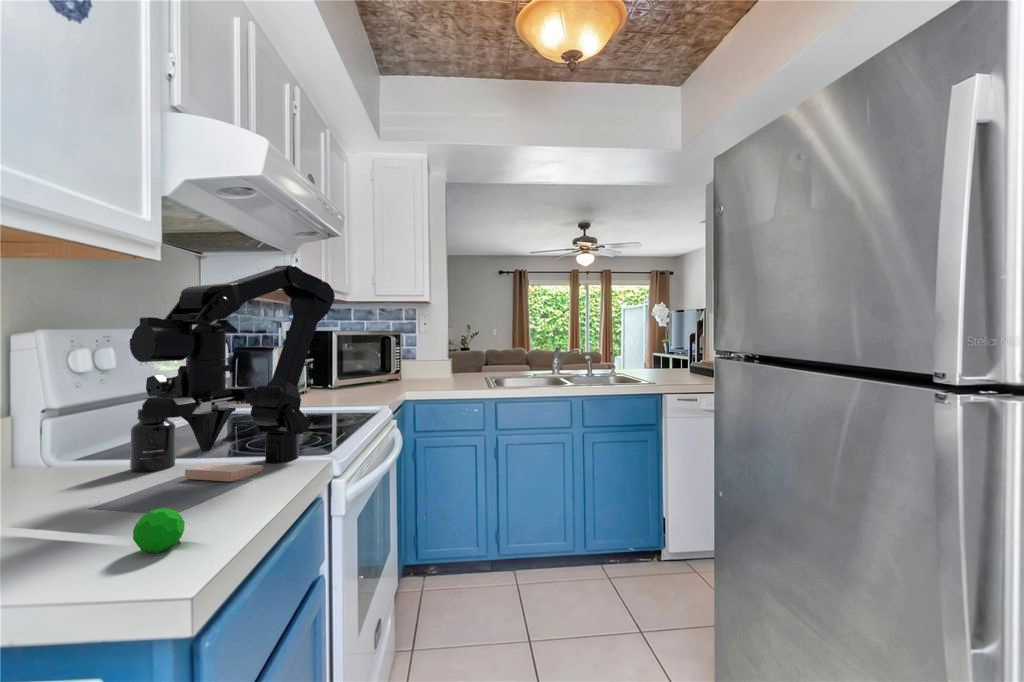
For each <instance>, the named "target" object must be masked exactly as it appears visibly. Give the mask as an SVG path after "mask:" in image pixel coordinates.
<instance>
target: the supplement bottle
mask: <svg viewBox="0 0 1024 682" xmlns="http://www.w3.org/2000/svg"><path fill="white" fill-rule="evenodd" d="M137 420H138V422H137V423H135V424H133V426H132V427H131V429H130V452H129V453H130V454H129V455H130V458H129V460H130V462H129V463H130V464H129V467H130V468H129V471H130V472H131V473H135V474H136V473H137V474H141V473H142V474H144V473H146V474H147V473H154V472H160V471H165V470H168V469H172V468H173V467H175V466H176V439H177V438H176V435H177V433H176V431H177V429H176V424H175V423H174V422H173V421H171V420H169V418H168V417H142V408H139V409H138V410H137Z"/></svg>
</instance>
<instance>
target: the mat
mask: <svg viewBox="0 0 1024 682" xmlns="http://www.w3.org/2000/svg"><path fill="white" fill-rule="evenodd" d="M184 477H185V475H182V476H178V477H176V478H173V479H170V480H167V481H164V482H162V483H159V484H155V485H153V486H150V487H147V488H144V489H142V490H138V491H135V492H133V493H130V494H126V495H124V496H121V497H118V498H115V499H112V500H109V501H107V502H104V503H101V504H98V505H95V506H91V507H89V508H88V510H95V511H97V510H98V511H107V512H110V511H111V512H123V513H124V512H127V513H137V514H138V513H140V514H147V513H149V512H150V511H153V510H156V509H159V508H167V509H172V510H175V511H177V512H178V513H179V514H180V513H181V512H184V511H185V510H189V509H191V508H192V507H195V506H197V505H200V504H202V503H204V502H206V501H209V500H212V499H213V498H216V497H218V496H220V495H222V494H223V495H224V494H226V493H228V492H230V491H232V490H235V489H237V488H239V487H241V486H244V485H246V484H248V483H251V482H253V481H254V480H253V479H240V480H235V481H231V482H230V481H213V480H196V479H184Z"/></svg>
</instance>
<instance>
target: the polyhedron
mask: <svg viewBox="0 0 1024 682" xmlns="http://www.w3.org/2000/svg"><path fill="white" fill-rule="evenodd" d="M132 530H133V531H132V532H133V533H132V540H133V541H134V543H135V544H136V545H137V546H138V548H139V549H140V550H141V551H144V552H147V553H154V552H159V553H160V552H161V551H162V552H164V551H166V549H167V550H169V549H170V548H172V547H174V546H176V544H177V543H178V542H179V540H180V539H181V538H182V536H183V533H184V532H185V521H184V519H183V517H182V516H181V515H180V512H179V513H178V512H177V511H175V510H172V509H167V508H159V509H156V510H153V511H150V512H149V513H144V515H142V516H141V518H139V520H138V521H137V522H136V523H135V525H134V528H133V529H132ZM163 550H164V551H163ZM162 552H161V553H162Z"/></svg>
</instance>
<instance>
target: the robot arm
mask: <svg viewBox="0 0 1024 682" xmlns="http://www.w3.org/2000/svg"><path fill="white" fill-rule="evenodd" d="M331 286H332V285H330V284H329V282H328V281H327V282H326V281H323V280H322V279H321V278H319V277H317V276H315V275H312V274H310V273H308V272H305V271H303V270H302V269H301V268H299V267H298V266H296V265H293V264H290V265H289V264H288V265H276V266H274V267H272V268H270V269H267V270H264V271H261V272H257V273H255V274H252V275H248V276H245V277H242V278H238V279H236V280H233V281H229V282H225V283H215V284H204V285H203V284H202V285H195V286H188V287H186V288H184V289H183V290H181V292H180V296H179V298H178V299H179V300H178V302H177V303H176V304H175V305H174V307H173V308H172V309H171V310H170V312H169V313H168V314H167V315H166V317H165V318H159V317H152V316H151V317H149V316H148V317H147V316H145V317H144V316H143V317H140V318H139V325H138V326H136V328H135V329H134V330H133V332H132V335H131V338H130V339H129V349H130V353H131V355H132V356H133V357H134V359H135V360H136V361H138V362H140V363H151V362H152V363H153V362H178V361H184V360H185V365H180V366H179V368H178V369H177V375H176V376H173V377H166V376H165V375H164V374H157V375H156V374H155V375H151V376H149V377H147V378H146V381H145V382H146V384H145V390H146V393H147V396H149V397H147V398H146V399H145V401H144V402H143V403H142V407H141V409H142V417H168V419H169V418H173V419H174V418H182V419H183V420H185V421H186V422H187V423H188V424H189V427H190V428H191V430H192V432H193V435H194V436H195V437H194V438H195V439H196V441H197V444H198V446H199V449H200V452H203V453H205V452H206V453H208V452H210V451H211V450H212V448H213V447H214V444H215V443H216V440H217V439H218V437H219V435H220V433H221V431H222V429H223V428H224V426H225V424H226V422H227V421H228V420H229V418H230V417H231V415H232V414H233V412H235V411H236V410H237V409H236V407H230V406H229V405H230V404H229V403H230V402H242V403H244V404H247V405H248V404H249V406H251V410H250V417H252V420H253V421H254V423H255V427H256V430H257V432H258V433H261V434H262V433H265V445H264V446H265V449H264V450H265V458H264V459H265V460H264V463H265V464H273V465H275V464H276V465H277V464H283V463H286V462H291V461H295V460H297V459H299V456H300V453H301V452H300V450H301V449H300V435H302V434H304V433H305V432H308V431H309V427H310V424H311V421H310V419H309V418H308V417H307V416H306V414H304V413H303V411H301V405H302V403H301V402H302V398H301V394H300V391H299V383H300V380H301V379H300V378H301V376H302V373H303V370H304V367H305V363H306V360H307V358H308V353H309V351H310V348H311V344H312V342H313V338H314V335H315V333H316V329H317V325H318V323H320V321H322V320H323V318H325V317H326V316H327V314H329V312H330V310H331V308H332V305H333V304H334V301H335V297H336V296H335V292H334V289H333V288H332V287H331ZM278 290H281V292H282V294H283V295H284V296H286V297H287V298H289V299H290V302H289V307H290V309H291V313H292V319H291V322H290V325H289V329H288V331H287V334H286V337H285V340H284V343H283V347H282V349H281V351H280V354H279V358H278V361H277V363H276V366H275V370H274V372H273V376H272V378H271V380H270V381H269V382H268V383H267V384H266V385H258V386H257V387H256V388H255V387H254V386H228V387H226V386H227V384H226V383H227V379H226V378H227V374H226V373H227V372H231V371H233V370H232V369H233V368H232V367H233V366H232V364H227V360H226V359H227V358H226V357H227V355H226V354H227V352H226V349H227V343H226V342H227V340H226V339H227V337H226V336H227V334H237V333H238V332H239V331H238V329H237V328H236V327H235V326H234V325H232V324H231V323H230V321H229V320H228V319H226V318H228V317H230V316H231V315H232V314H235V313H236V312H238V311H239V310H240V309H241V308H242V306H243V305H244V304H245V303H247V302H249V301H251V300H254V299H257V298H260V297H262V296H265V295H268V294H270V293H273V292H276V291H278ZM216 320H217V321H216ZM215 321H216V322H215ZM213 322H214V323H213ZM193 326H194V328H193Z"/></svg>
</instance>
